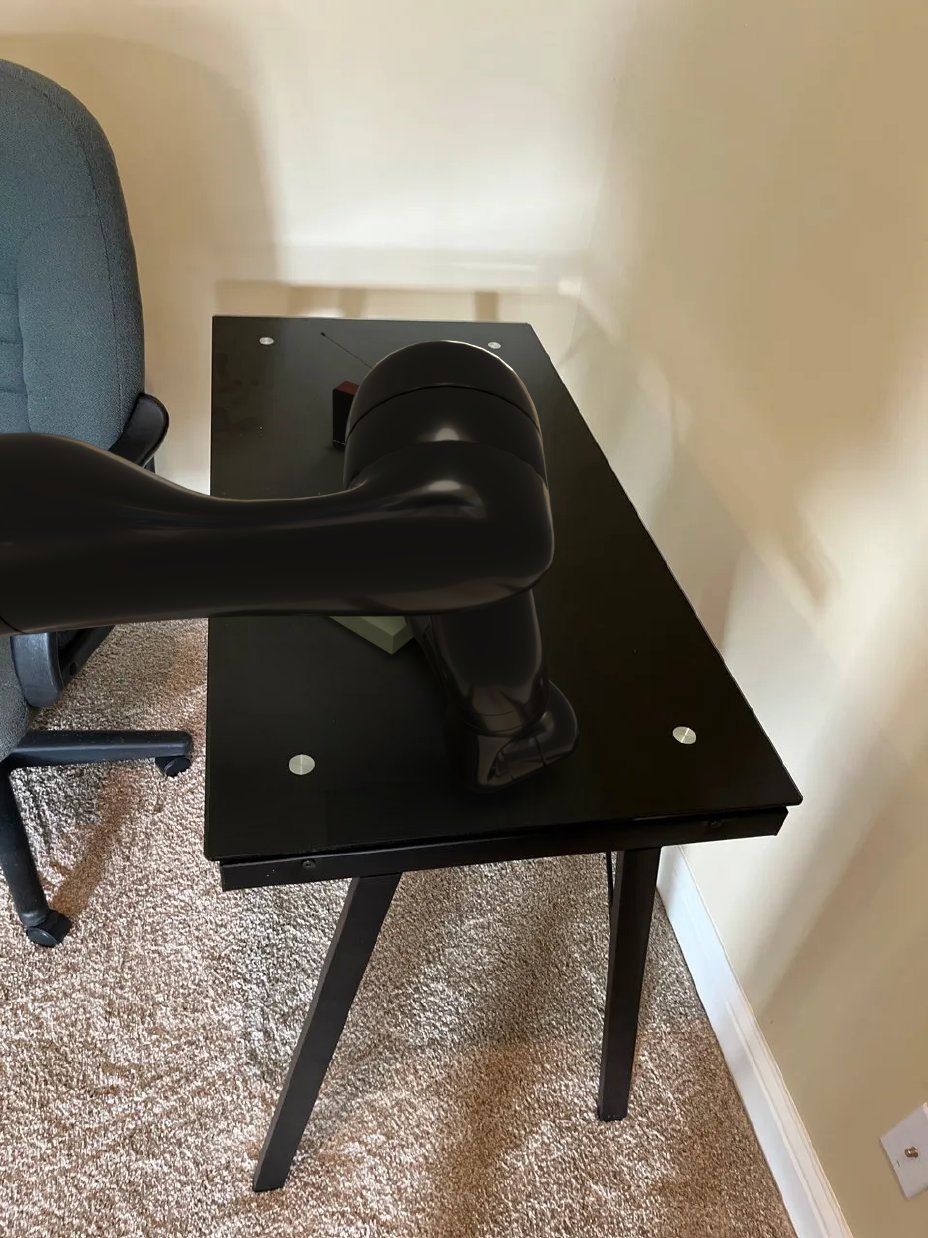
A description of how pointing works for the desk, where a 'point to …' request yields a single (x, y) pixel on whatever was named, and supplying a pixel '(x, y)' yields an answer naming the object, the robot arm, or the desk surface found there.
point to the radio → (342, 406)
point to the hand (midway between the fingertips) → (390, 500)
